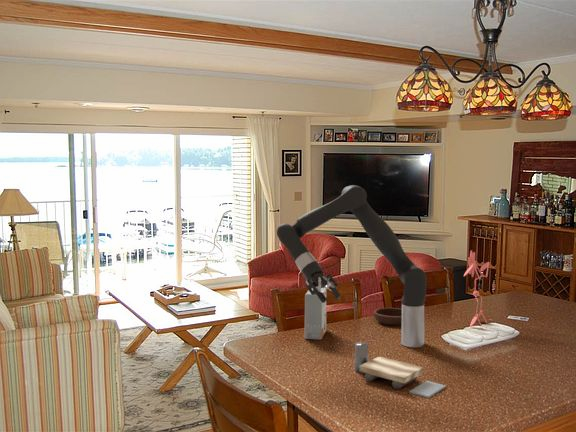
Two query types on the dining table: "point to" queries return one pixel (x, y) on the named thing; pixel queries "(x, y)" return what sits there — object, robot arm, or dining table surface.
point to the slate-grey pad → (427, 389)
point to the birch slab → (391, 371)
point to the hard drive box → (315, 316)
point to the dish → (389, 316)
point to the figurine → (471, 269)
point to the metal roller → (361, 354)
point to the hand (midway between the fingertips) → (332, 299)
